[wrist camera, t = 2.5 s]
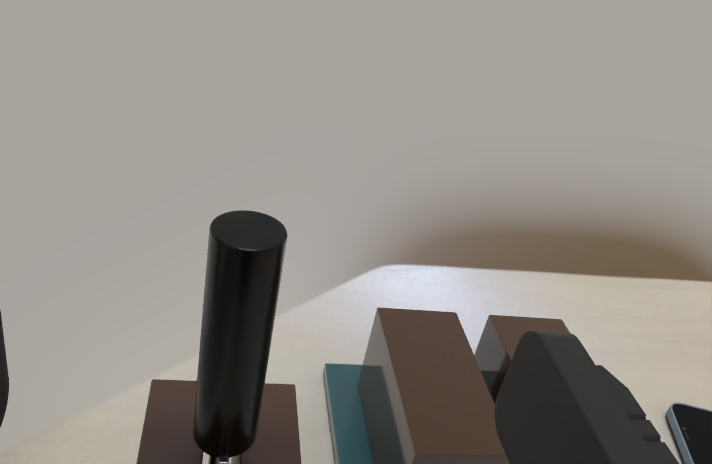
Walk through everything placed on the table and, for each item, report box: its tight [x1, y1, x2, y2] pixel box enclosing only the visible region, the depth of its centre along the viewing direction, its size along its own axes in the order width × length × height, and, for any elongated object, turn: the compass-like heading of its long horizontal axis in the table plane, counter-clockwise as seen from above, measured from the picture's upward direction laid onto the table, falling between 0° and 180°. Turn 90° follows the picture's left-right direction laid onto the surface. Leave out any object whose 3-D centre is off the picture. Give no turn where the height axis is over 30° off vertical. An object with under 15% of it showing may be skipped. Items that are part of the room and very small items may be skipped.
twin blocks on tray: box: [323, 308, 570, 464], centre depth 41 cm, size 16×18×8 cm
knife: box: [193, 211, 287, 464], centre depth 27 cm, size 3×3×22 cm
